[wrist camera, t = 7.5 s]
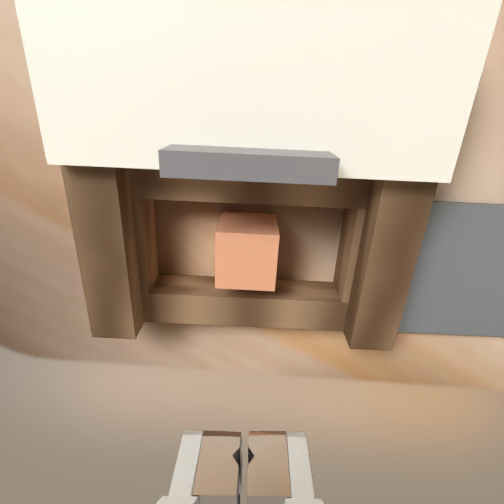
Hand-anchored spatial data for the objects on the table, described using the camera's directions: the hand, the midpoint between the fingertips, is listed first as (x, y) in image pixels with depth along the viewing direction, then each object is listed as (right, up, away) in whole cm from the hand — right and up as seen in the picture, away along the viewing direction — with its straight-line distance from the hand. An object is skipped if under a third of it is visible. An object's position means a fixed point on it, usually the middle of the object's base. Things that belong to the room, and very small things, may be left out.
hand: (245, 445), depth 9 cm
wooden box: (0, +8, +16) cm, 18 cm away
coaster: (+18, +4, +17) cm, 25 cm away
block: (0, +6, +17) cm, 18 cm away
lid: (0, +14, +7) cm, 16 cm away
